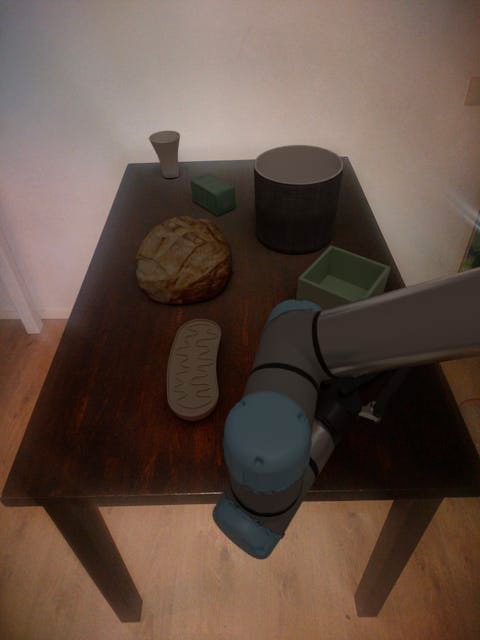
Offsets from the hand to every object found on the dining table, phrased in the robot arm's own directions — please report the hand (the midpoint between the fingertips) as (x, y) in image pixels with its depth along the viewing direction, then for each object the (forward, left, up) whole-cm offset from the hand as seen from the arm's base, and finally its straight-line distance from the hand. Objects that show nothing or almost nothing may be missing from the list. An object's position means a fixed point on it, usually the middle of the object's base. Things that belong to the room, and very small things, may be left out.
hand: (382, 319), depth 60 cm
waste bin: (+14, -18, -18) cm, 29 cm away
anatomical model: (+27, +17, -18) cm, 37 cm away
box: (+67, -36, -18) cm, 78 cm away
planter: (+38, -37, -18) cm, 56 cm away
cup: (+94, -44, -18) cm, 105 cm away
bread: (+51, -6, -18) cm, 54 cm away
